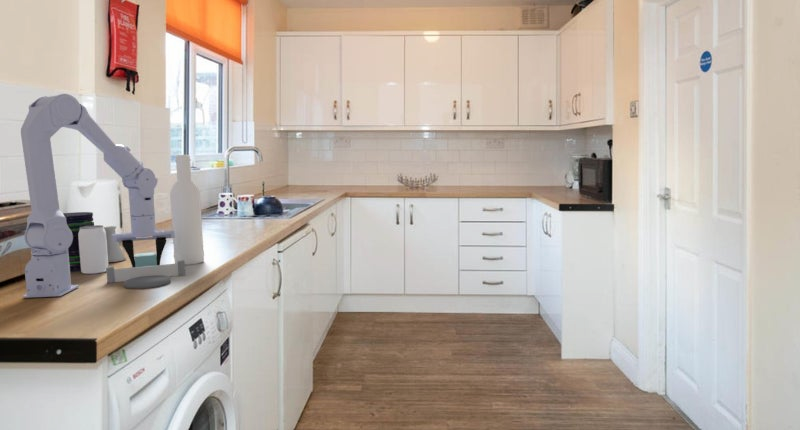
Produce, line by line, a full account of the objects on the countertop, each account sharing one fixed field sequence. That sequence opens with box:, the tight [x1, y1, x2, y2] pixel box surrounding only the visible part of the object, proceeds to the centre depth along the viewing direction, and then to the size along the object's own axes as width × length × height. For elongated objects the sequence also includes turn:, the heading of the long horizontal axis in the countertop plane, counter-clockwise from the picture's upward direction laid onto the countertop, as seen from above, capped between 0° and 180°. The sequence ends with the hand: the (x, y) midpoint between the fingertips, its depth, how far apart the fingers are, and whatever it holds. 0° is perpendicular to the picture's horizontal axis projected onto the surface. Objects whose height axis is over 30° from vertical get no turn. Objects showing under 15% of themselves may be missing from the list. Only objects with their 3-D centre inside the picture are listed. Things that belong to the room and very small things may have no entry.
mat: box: [123, 275, 172, 290], centre depth 142 cm, size 10×10×1 cm
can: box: [78, 224, 109, 275], centre depth 158 cm, size 6×6×12 cm
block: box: [134, 251, 157, 267], centre depth 154 cm, size 5×5×5 cm
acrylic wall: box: [106, 260, 186, 284], centre depth 148 cm, size 18×2×4 cm, turn 114°
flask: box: [103, 225, 127, 263], centre depth 175 cm, size 7×7×10 cm
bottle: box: [169, 154, 205, 266], centre depth 168 cm, size 8×8×30 cm
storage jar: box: [62, 211, 95, 273], centre depth 163 cm, size 10×10×15 cm
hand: (146, 268), depth 154 cm, fingers closed on block, 5 cm apart
